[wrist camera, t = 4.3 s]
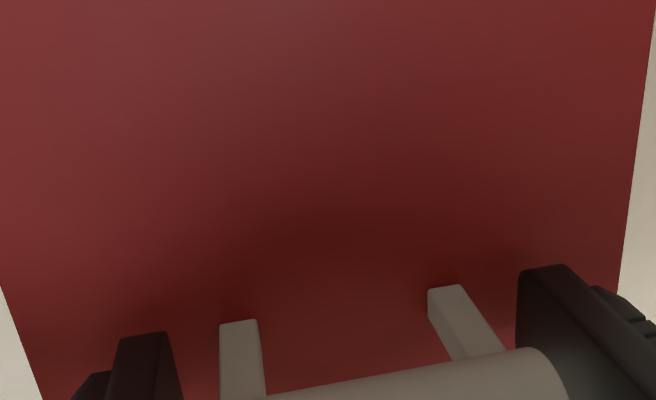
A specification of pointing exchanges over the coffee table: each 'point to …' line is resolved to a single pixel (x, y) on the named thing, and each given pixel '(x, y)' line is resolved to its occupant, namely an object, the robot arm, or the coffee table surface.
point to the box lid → (311, 186)
